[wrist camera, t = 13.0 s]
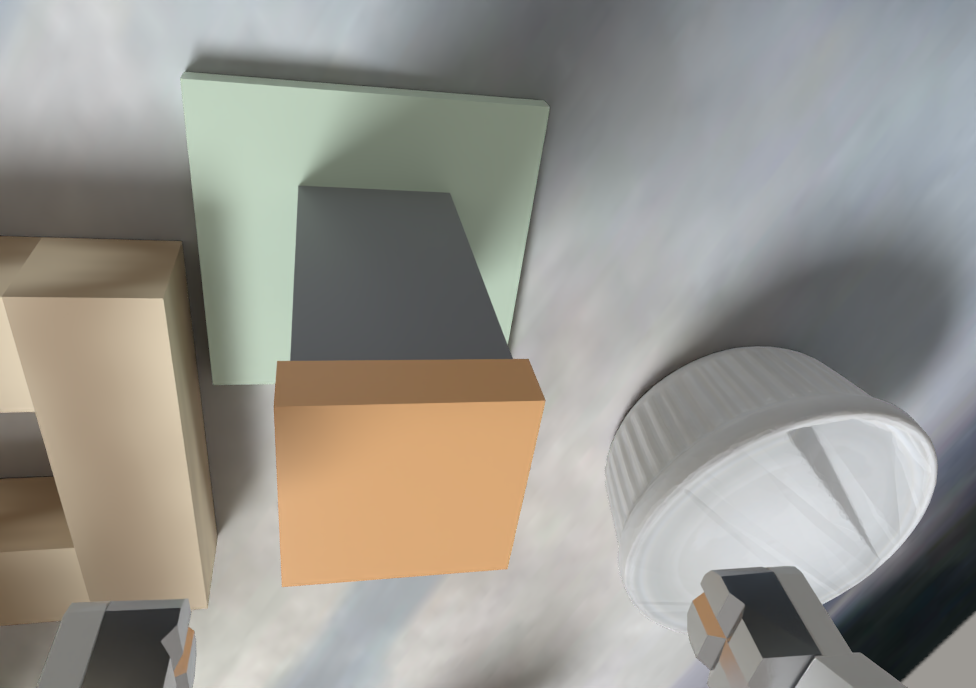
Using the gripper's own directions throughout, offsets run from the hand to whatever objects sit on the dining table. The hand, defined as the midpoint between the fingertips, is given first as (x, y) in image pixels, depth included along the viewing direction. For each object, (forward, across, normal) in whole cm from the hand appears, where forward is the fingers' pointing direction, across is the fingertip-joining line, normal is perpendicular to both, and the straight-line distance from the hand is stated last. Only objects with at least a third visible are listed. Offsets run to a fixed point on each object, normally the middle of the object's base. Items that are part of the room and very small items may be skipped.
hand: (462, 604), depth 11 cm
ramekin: (+13, -13, +8) cm, 20 cm away
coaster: (+12, +1, 0) cm, 12 cm away
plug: (+11, +1, 0) cm, 11 cm away
